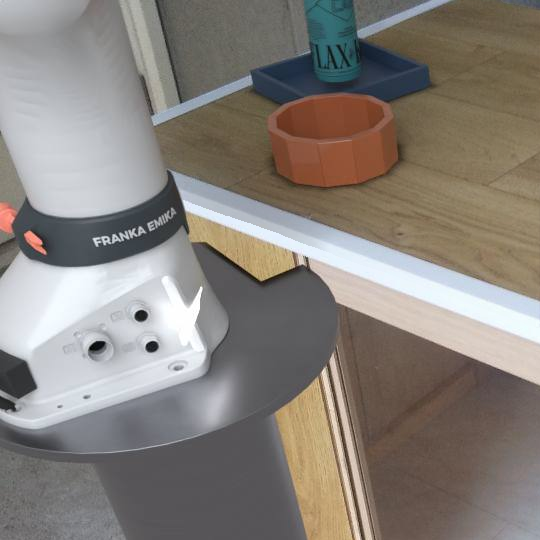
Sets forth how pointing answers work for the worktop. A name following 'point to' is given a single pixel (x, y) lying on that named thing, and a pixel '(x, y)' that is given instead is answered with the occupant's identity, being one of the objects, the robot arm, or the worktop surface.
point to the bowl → (333, 139)
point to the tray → (368, 83)
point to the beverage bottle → (333, 39)
